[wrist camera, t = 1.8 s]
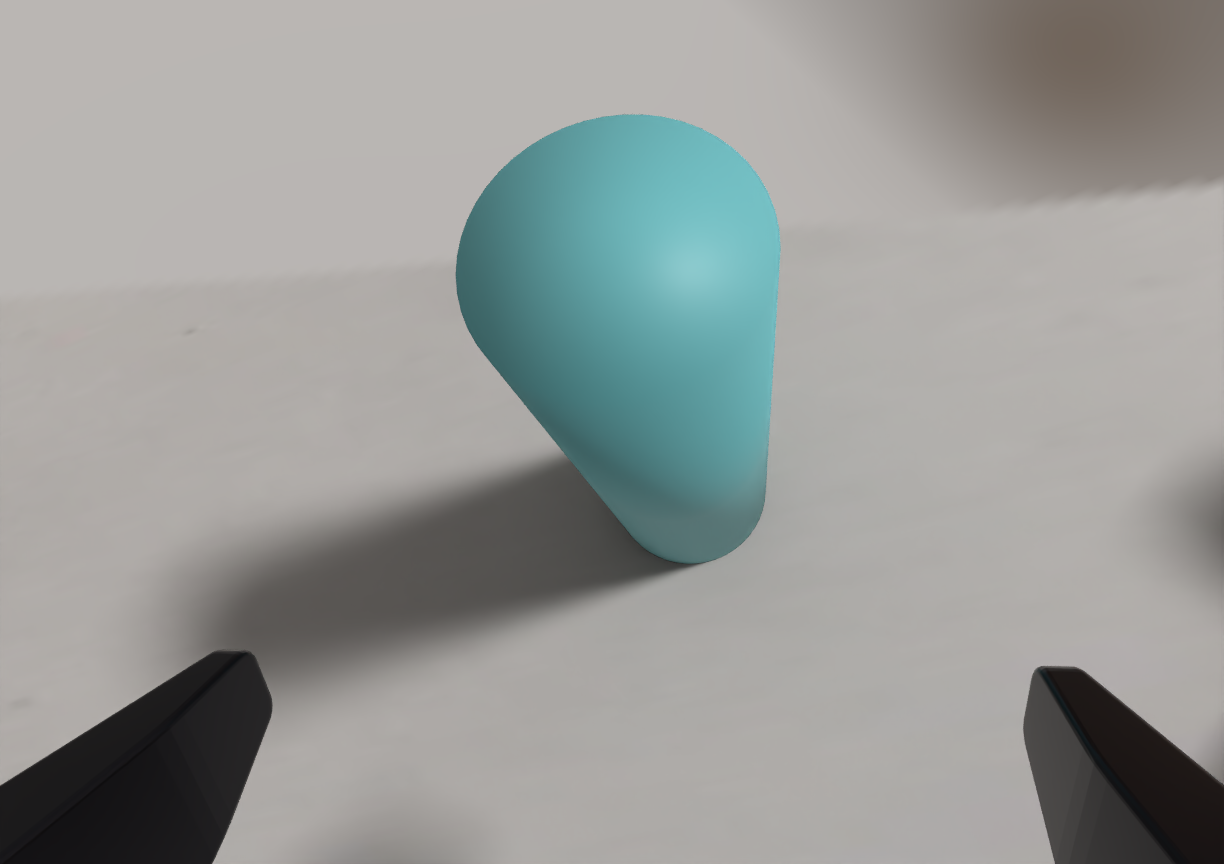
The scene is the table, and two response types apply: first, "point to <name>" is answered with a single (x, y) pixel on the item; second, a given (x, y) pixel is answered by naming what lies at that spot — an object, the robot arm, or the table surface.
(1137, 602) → the table surface
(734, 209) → the dowel
